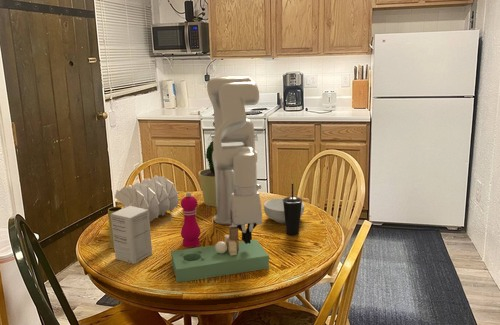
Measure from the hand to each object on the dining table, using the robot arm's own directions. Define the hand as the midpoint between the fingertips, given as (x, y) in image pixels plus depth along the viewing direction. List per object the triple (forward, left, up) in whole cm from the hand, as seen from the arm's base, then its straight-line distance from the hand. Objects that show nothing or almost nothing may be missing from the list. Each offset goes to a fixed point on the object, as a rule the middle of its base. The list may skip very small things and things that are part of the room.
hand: (246, 242), depth 157 cm
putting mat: (0, -10, -7) cm, 12 cm away
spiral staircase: (-54, -28, -7) cm, 61 cm away
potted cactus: (-65, +3, -7) cm, 66 cm away
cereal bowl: (-33, +25, -7) cm, 42 cm away
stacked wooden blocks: (0, -5, -2) cm, 5 cm away
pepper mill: (-21, -16, -7) cm, 27 cm away
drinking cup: (-18, +23, -7) cm, 30 cm away
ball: (0, -9, -1) cm, 9 cm away
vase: (-29, -42, -7) cm, 51 cm away
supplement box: (-17, -37, -7) cm, 41 cm away
